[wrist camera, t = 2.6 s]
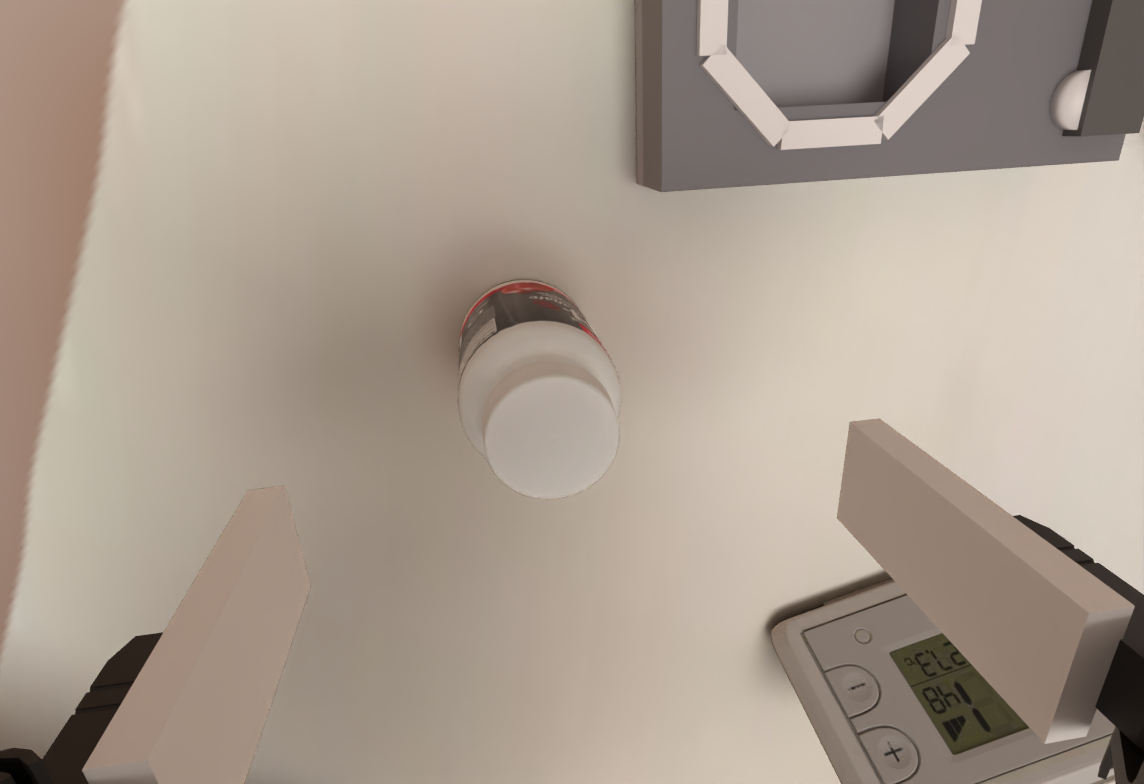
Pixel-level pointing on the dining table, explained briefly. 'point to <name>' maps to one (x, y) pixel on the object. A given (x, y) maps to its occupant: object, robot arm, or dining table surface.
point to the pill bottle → (537, 390)
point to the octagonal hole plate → (880, 87)
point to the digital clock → (915, 701)
